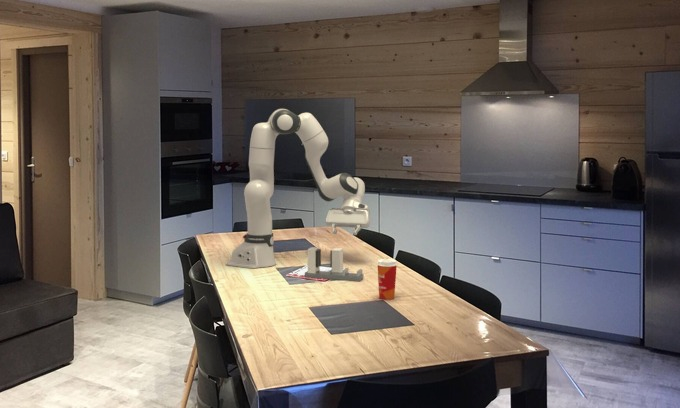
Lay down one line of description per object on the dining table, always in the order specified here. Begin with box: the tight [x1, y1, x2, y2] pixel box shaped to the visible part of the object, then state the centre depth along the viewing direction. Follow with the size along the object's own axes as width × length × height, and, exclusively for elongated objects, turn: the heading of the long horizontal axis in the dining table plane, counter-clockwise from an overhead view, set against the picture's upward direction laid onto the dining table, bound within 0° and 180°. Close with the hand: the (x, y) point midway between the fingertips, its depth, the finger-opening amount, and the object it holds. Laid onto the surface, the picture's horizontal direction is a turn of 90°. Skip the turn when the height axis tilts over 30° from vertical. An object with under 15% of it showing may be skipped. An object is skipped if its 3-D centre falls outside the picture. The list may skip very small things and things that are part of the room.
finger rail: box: [304, 246, 364, 282], centre depth 278 cm, size 24×5×12 cm, turn 73°
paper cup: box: [376, 258, 398, 301], centre depth 247 cm, size 8×8×14 cm
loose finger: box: [329, 247, 344, 273], centre depth 289 cm, size 4×5×10 cm
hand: (344, 233), depth 299 cm, fingers open, 8 cm apart
